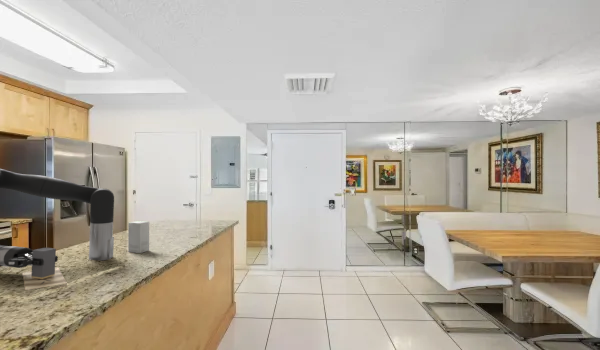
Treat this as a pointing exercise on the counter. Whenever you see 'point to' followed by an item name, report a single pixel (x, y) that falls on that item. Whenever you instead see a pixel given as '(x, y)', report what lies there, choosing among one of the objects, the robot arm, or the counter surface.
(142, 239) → the skincare box
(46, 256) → the block
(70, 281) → the counter surface
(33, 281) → the pine board
